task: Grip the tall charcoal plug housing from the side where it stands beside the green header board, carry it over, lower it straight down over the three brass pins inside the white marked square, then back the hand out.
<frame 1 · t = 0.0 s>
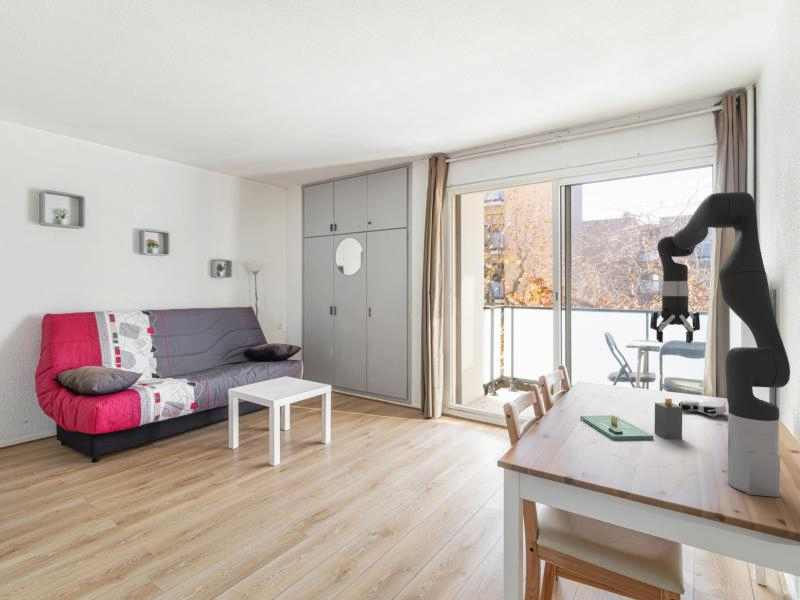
hand: (674, 342, 144), 29 cm above the table, tool pointing down, fingers open, 8 cm apart
header board: (614, 428, 144), on the table
plug housing: (668, 435, 137), on the table
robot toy: (701, 413, 163), on the table
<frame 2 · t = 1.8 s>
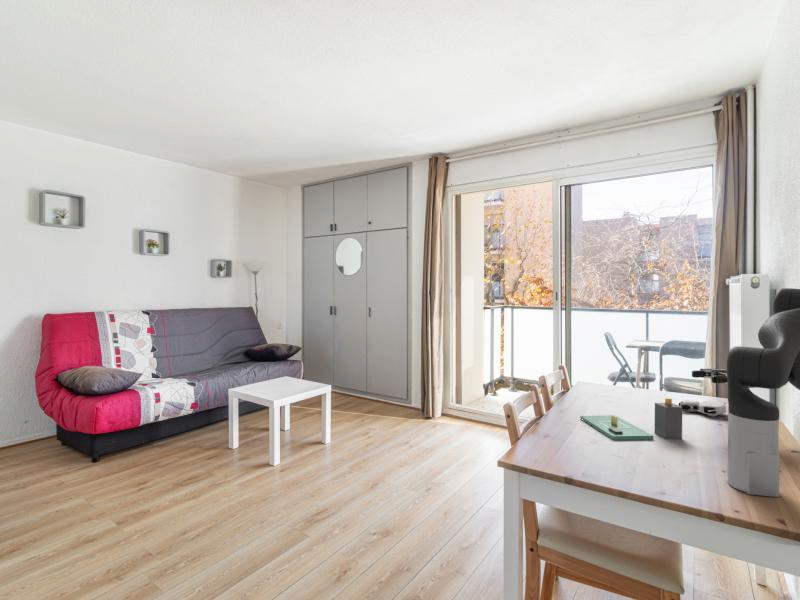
hand: (702, 376, 137), 19 cm above the table, tool horizontal, fingers open, 8 cm apart
nothing on the table moved.
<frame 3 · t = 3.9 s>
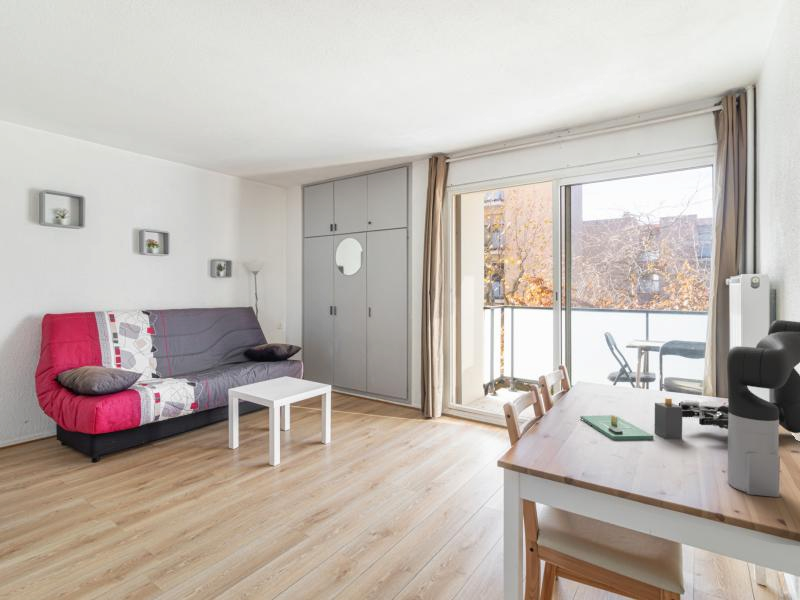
hand: (690, 417, 137), 6 cm above the table, tool horizontal, fingers open, 8 cm apart
nothing on the table moved.
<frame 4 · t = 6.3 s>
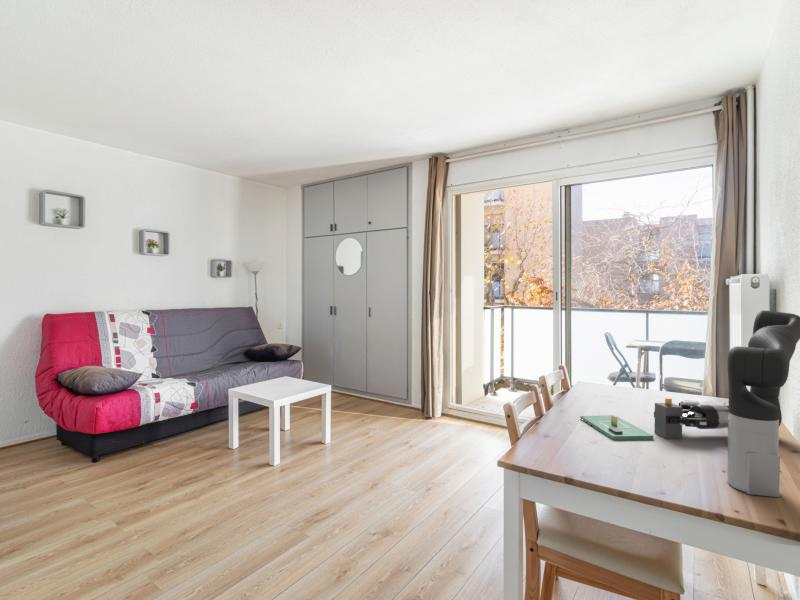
hand: (660, 417, 136), 6 cm above the table, tool horizontal, fingers closed on plug housing, 5 cm apart
plug housing: (668, 435, 137), on the table, touching gripper
everything else where it was.
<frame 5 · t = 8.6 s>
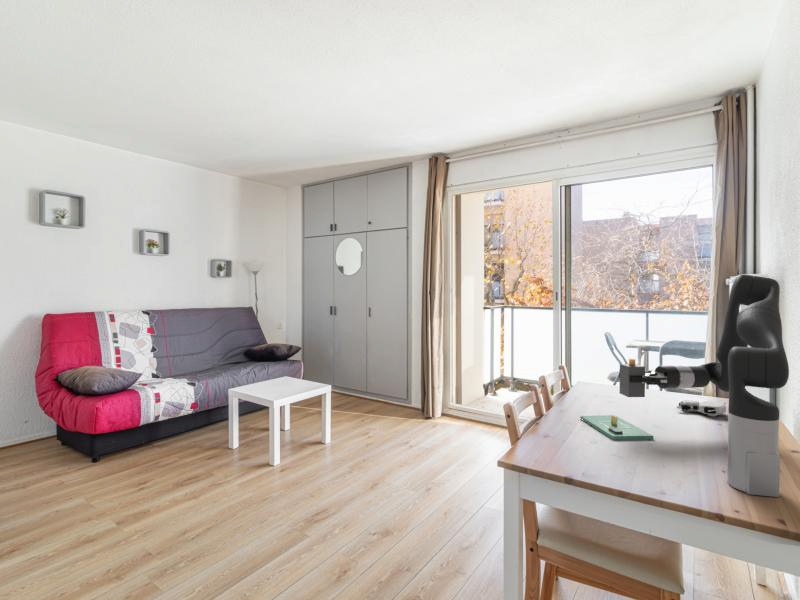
hand: (624, 377, 141), 18 cm above the table, tool horizontal, fingers closed on plug housing, 5 cm apart
plug housing: (631, 395, 142), point 12 cm above the table, touching gripper
everything else where it was.
when the fingers open (8 cm above the table, at t = 11.0 s): plug housing stays where it is, resting on header board.
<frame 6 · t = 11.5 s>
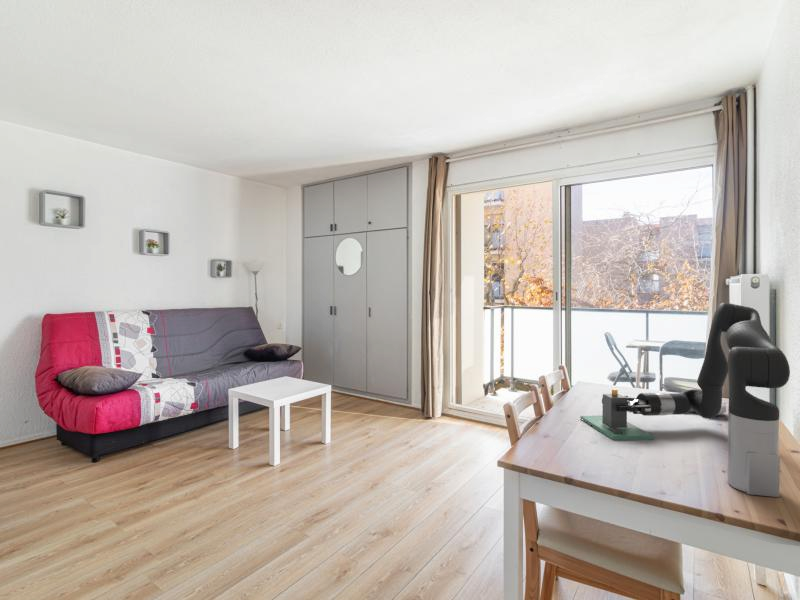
hand: (608, 404, 144), 8 cm above the table, tool horizontal, fingers open, 8 cm apart
plug housing: (614, 425, 144), point 1 cm above the table, touching header board
everything else where it was.
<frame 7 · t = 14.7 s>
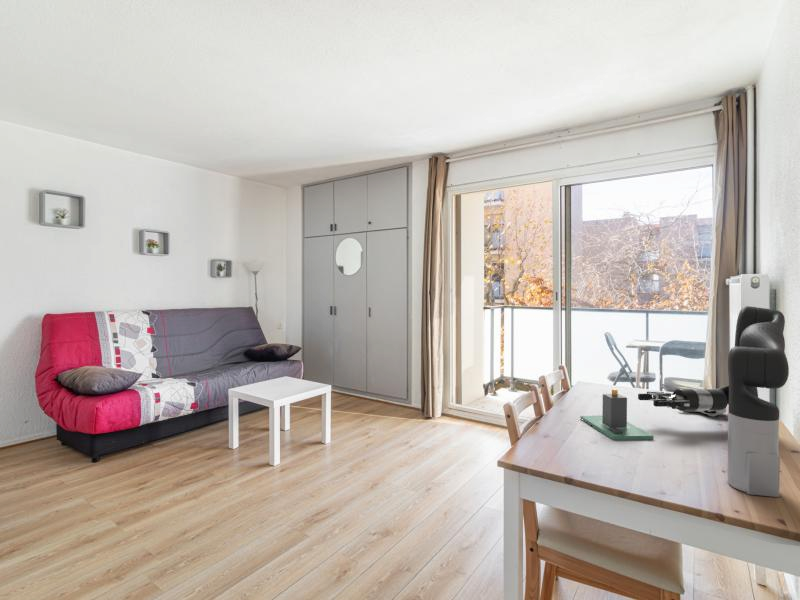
hand: (646, 399, 144), 10 cm above the table, tool horizontal, fingers open, 8 cm apart
nothing on the table moved.
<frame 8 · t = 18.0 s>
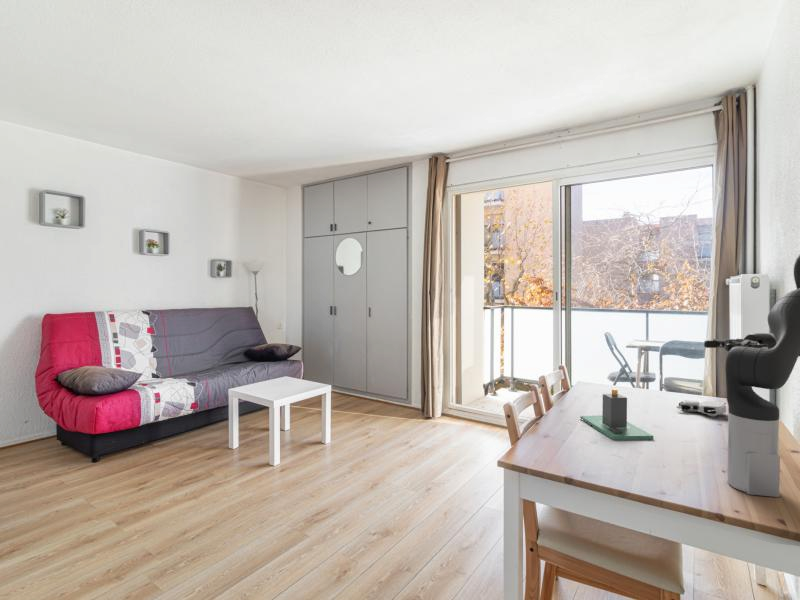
hand: (715, 345, 129), 30 cm above the table, tool horizontal, fingers open, 8 cm apart
nothing on the table moved.
at the end: plug housing 0.0 cm off-centre on the header board, point 1.2 cm above the header board's base; plug housing tilted 0°; the gripper is holding nothing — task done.
